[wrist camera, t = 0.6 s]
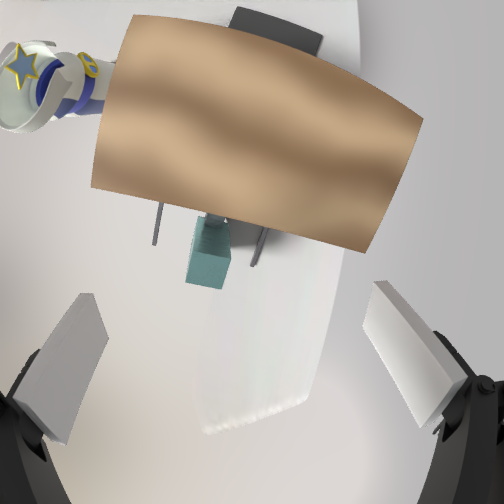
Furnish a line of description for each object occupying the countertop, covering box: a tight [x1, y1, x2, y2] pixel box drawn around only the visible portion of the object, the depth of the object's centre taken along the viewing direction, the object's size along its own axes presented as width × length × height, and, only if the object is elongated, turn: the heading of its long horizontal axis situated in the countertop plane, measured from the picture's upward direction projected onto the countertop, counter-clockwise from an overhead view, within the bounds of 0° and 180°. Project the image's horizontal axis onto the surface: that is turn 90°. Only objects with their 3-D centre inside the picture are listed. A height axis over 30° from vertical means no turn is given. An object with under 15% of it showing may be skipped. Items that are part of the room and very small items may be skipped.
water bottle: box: [0, 41, 115, 134], centre depth 17 cm, size 8×9×25 cm
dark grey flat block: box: [228, 6, 322, 56], centre depth 27 cm, size 8×12×1 cm, turn 72°
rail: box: [152, 202, 268, 267], centre depth 36 cm, size 28×16×1 cm, turn 162°
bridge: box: [91, 15, 423, 253], centre depth 25 cm, size 12×22×20 cm, turn 72°
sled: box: [186, 213, 231, 289], centre depth 31 cm, size 26×14×10 cm, turn 162°
